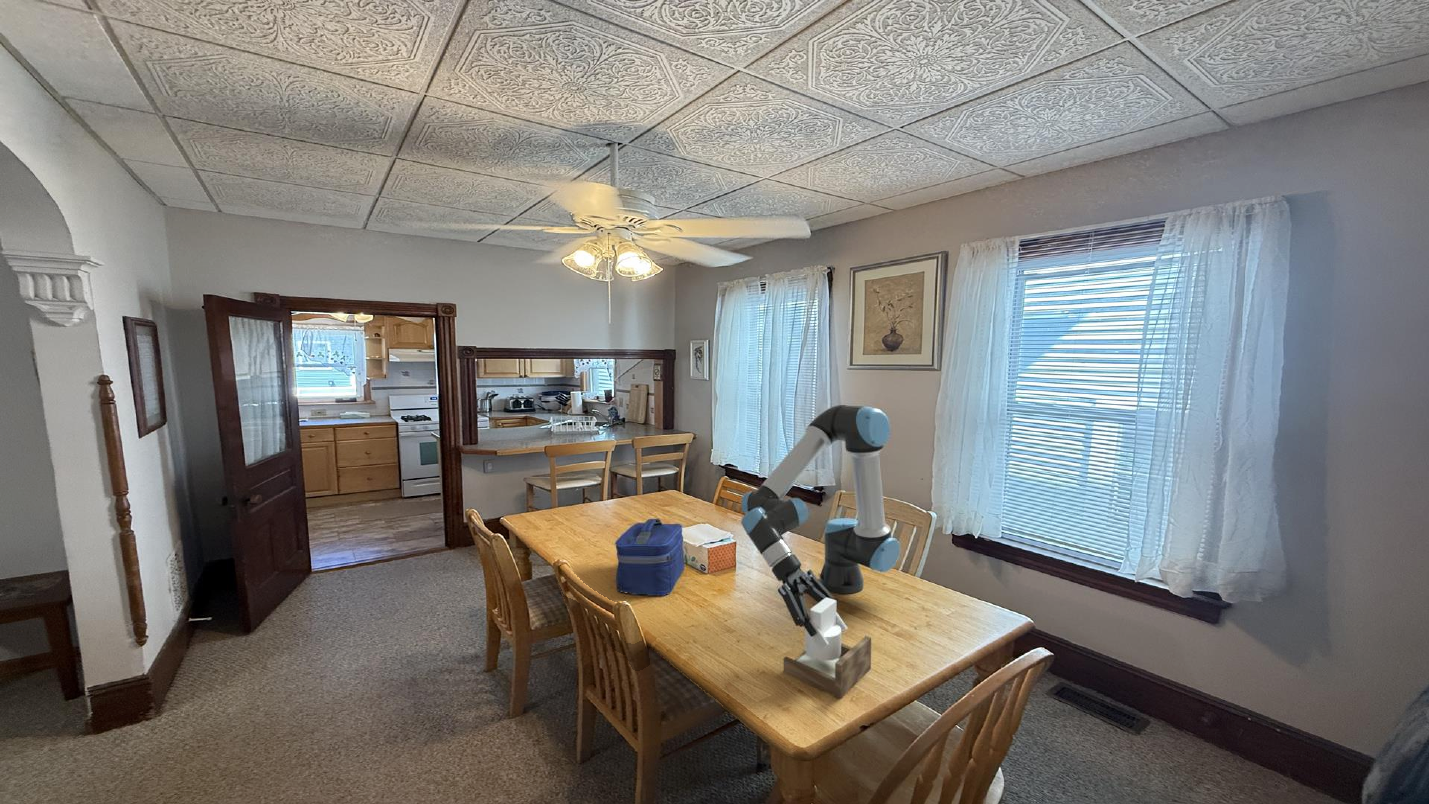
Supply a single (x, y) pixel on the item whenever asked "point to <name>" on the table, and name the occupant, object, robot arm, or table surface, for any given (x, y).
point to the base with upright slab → (824, 631)
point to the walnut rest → (832, 668)
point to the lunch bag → (650, 558)
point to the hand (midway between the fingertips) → (834, 638)
